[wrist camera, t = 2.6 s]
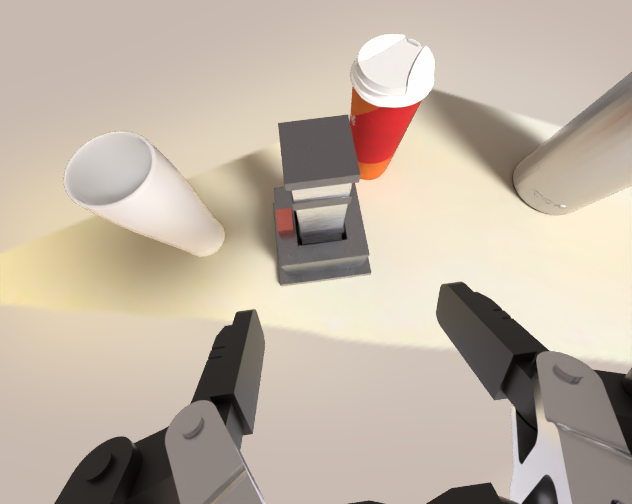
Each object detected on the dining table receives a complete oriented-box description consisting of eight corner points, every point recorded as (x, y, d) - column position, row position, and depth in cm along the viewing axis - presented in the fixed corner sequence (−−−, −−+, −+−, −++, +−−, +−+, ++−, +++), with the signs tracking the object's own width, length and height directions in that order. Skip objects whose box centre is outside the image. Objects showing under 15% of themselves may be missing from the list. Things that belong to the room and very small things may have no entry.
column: (300, 224, 31) (278, 123, 15) (334, 219, 31) (347, 114, 16) (304, 257, 30) (284, 184, 14) (340, 252, 30) (360, 174, 14)
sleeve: (274, 206, 32) (261, 175, 26) (354, 196, 33) (362, 162, 26) (281, 286, 29) (269, 274, 22) (369, 274, 29) (384, 259, 23)
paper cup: (360, 132, 36) (384, 18, 22) (404, 159, 34) (457, 53, 21) (328, 167, 34) (333, 67, 21) (372, 197, 32) (408, 109, 19)
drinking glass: (179, 220, 32) (65, 138, 18) (229, 210, 32) (155, 121, 18) (182, 268, 30) (55, 218, 16) (234, 257, 30) (156, 198, 16)
